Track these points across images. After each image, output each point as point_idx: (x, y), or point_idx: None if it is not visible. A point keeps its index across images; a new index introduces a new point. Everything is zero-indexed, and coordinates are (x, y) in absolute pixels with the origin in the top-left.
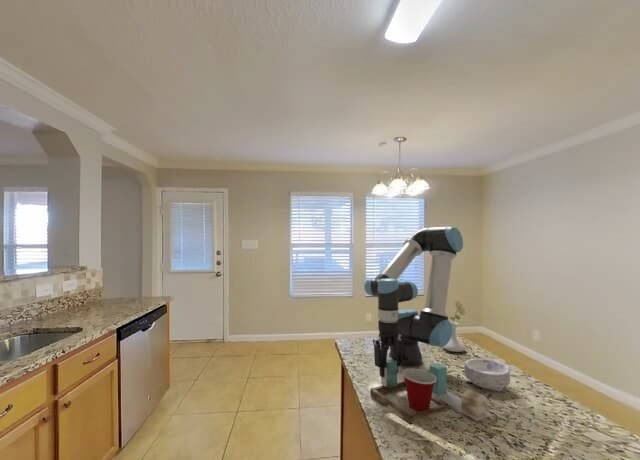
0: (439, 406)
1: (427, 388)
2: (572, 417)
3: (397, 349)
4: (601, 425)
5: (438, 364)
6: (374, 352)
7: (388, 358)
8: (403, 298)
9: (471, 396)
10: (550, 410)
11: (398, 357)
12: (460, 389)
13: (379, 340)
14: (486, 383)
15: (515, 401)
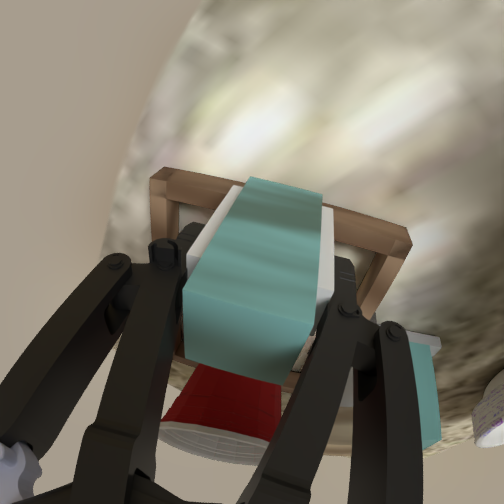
0: (285, 388)
1: (212, 437)
2: (437, 444)
3: (374, 444)
4: (430, 453)
5: (428, 444)
6: (33, 342)
7: (269, 327)
8: None
9: (328, 450)
10: (447, 434)
11: (394, 356)
12: (478, 356)
13: (19, 489)
14: (473, 417)
15: (460, 414)
